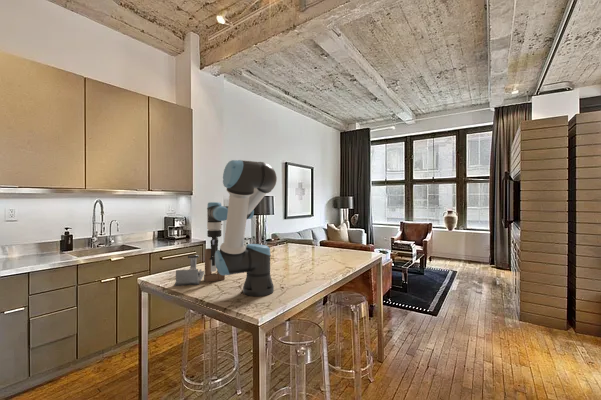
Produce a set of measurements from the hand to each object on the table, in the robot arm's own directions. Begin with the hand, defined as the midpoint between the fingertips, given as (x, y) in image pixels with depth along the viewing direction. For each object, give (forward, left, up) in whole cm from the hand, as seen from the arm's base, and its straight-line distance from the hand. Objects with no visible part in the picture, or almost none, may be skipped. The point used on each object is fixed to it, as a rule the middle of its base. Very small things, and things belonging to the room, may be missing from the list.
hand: (214, 268), depth 158 cm
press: (+5, +13, -6) cm, 16 cm away
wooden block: (0, 0, -7) cm, 7 cm away
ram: (+13, +13, -5) cm, 20 cm away
